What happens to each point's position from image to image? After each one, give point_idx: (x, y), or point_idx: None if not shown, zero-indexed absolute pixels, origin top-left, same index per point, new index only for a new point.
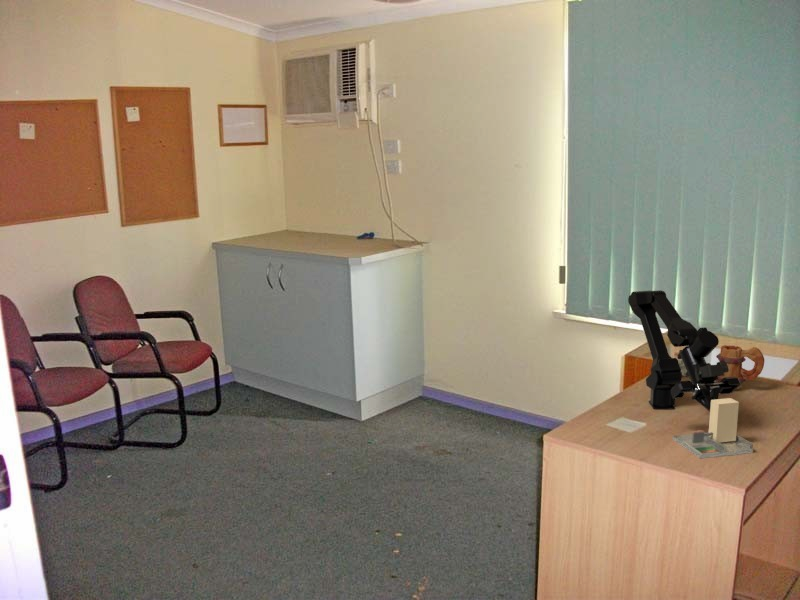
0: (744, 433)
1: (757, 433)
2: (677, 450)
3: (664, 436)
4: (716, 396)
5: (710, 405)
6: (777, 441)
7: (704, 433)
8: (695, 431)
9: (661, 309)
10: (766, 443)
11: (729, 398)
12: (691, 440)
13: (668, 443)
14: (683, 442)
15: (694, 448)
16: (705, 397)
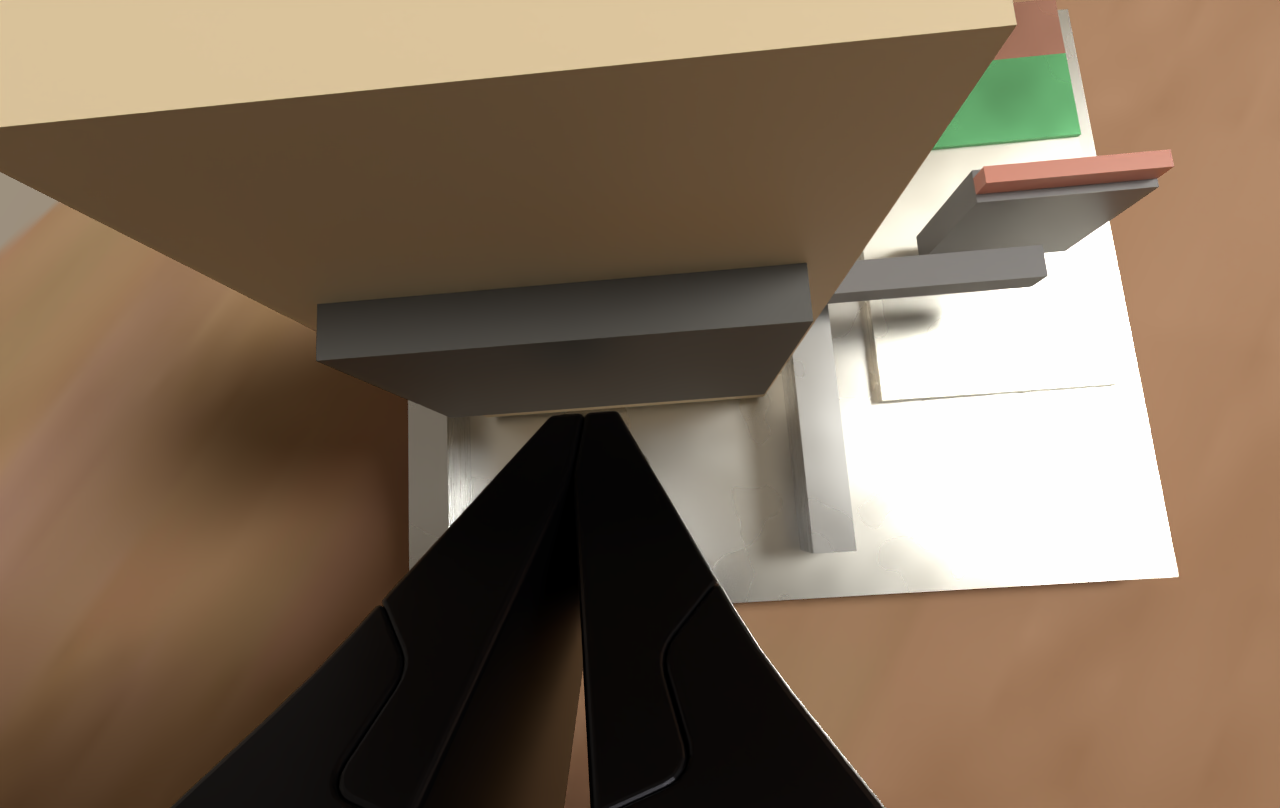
0: (183, 596)
1: (45, 568)
2: (1211, 259)
3: (1218, 695)
4: (280, 799)
5: (694, 549)
6: (9, 322)
7: (899, 277)
8: (1133, 165)
9: None
10: (151, 292)
11: (22, 86)
12: (1012, 362)
13: (1247, 466)
14: (1122, 351)
15: (1077, 142)
16: (871, 806)
